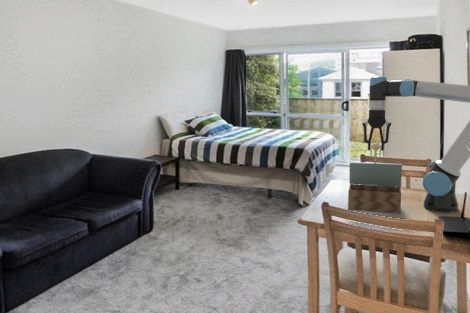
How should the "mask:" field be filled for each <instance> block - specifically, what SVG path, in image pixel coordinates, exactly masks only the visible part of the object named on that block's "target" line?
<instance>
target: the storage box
mask: <svg viewBox="0 0 470 313" xmlns="http://www.w3.org/2000/svg"><path fill="white" fill-rule="evenodd" d="M347 196H348V199H347V201H348V202H347V211H359V212H372V213H373V212H374V213H375V212H376V213H386V214H387V213H388V214H401V206H402V204H401V203H402V190H401V187H399V186H377V185H361V184H349V187H348V193H347Z"/></svg>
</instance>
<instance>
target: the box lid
mask: <svg viewBox="0 0 470 313" xmlns="http://www.w3.org/2000/svg"><path fill="white" fill-rule="evenodd" d="M372 151H374V159H373V162H365V161H364V162H362V161H361V162H360V161H349V181H348V182H349V185H350V184H357V185H376V186H377V185H380V186H395V187H400V188H401V184H402V173H403V172H402V171H403V163H395V162H393V163H390V162H389V163H388V162H387V163H386V162H377V159H378V158H377V156H378V154H377V153H378V151H380V143H377V142H374V143H372Z"/></svg>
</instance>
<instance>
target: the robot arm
mask: <svg viewBox="0 0 470 313" xmlns="http://www.w3.org/2000/svg"><path fill="white" fill-rule="evenodd" d="M368 96H369V99H368V108H369V109H368V119H367V121H364V122H362V123H361V124H362V127H363V141H364V143H366V144H367V150H368V151H369V157H370V158H372V156H373V149H372V145H373V143H371V142H372V139H373V133H374V130H375V129H379V137H380V143H379V145H380V148H379V150H378V151H379V158H382V151H384V150H385V144H388V143H389V137H390V127H391V125H392V122H390V121H387V119H386V107H387V106H386V105H387V104H386V103H387V102H386V101H387V98H388V97H392V98H393V97H396V98H397V97H399V98H400V97H401V98H402V97H403V98H407V97H419V98H425V99H426V98H428V99H433V100H434V99H435V100H436V99H437V100H442V101H444V100H445V101H452V102H461V103H466V104H467V103H468V104H470V85H469V84H468V85H465V84H455V83H447V82H446V83H444V82H435V81H425V80H424V81H423V80H415V79H414V80H413V79H407V78H406V79H399V80H397V79H396V80H388V78H387V76H372V77H371V78H370V80H369V95H368ZM368 125H369V126H370V127H371V128H370V132H369V136H368V133H367V128H368V127H367V126H368ZM384 126H386V130H385V131H386V132H385V139H384V134H383V129H382V128H383V127H384ZM367 137H368V138H367ZM469 140H470V120H469V121H468V122H467V123H466V125H465V127H464V128H463V129H462V130H461V132H460V133H459V135H458V136H457V138H456V139H455V140H454V142H453V143H452V145H450V147H449V148H448V149H447V152H446V153H445V154H444V156H443V157H442V158H441V159H439V160H438V159H437V160H432V161H430V162H429V170H428V171H427V173H426V174H425V175H424V176H423V179H422V187H423V189H424V190H425V192H426V195H425V198H424V200H423V207H424V208H425V209H427V210H428V211H429V210H430V211H433V212H438V211H439V213H452V212H451V211H454V212H457V211H458V210H459V203H458V202H459V201H458V200H457V196H456V187H457V184H456V182H457V180H458V179H459V178H460V177H461V175H462V173H461V169H462V168H463V167H464V166H465V164H466V163H467V161H468V160H469V158H470V152H469V150H468V148H467V146H466V143H467V141H469ZM456 210H457V211H456Z"/></svg>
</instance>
